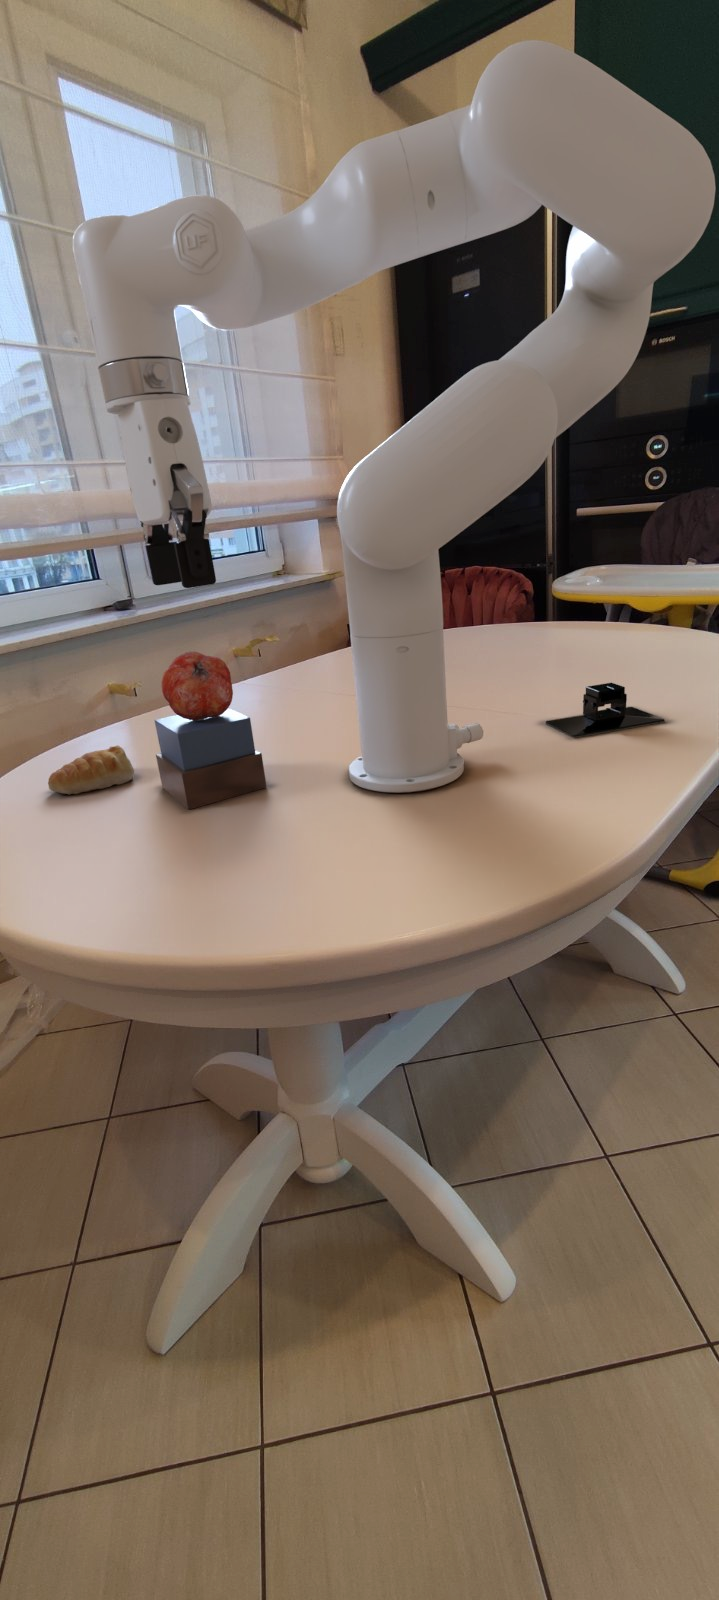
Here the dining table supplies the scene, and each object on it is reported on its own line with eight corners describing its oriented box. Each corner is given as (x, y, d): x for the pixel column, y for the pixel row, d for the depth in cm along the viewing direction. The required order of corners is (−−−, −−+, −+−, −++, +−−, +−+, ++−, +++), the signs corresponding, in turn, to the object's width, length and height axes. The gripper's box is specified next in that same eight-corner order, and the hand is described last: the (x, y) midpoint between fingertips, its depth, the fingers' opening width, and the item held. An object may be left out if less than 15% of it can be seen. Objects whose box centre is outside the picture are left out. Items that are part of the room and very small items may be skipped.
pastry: (61, 803, 81) (52, 770, 79) (43, 789, 86) (34, 759, 84) (140, 779, 86) (133, 748, 85) (119, 767, 91) (112, 739, 90)
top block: (227, 738, 85) (222, 704, 83) (255, 753, 78) (250, 717, 77) (161, 754, 81) (154, 719, 79) (184, 771, 75) (177, 734, 73)
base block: (235, 768, 87) (230, 736, 85) (266, 787, 80) (261, 753, 78) (162, 787, 83) (155, 754, 81) (188, 809, 75) (181, 773, 74)
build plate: (573, 739, 86) (574, 700, 84) (543, 724, 92) (543, 688, 91) (665, 721, 88) (667, 684, 86) (629, 708, 95) (631, 673, 93)
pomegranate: (167, 737, 81) (154, 699, 71) (168, 677, 83) (155, 633, 73) (235, 735, 82) (230, 699, 72) (234, 676, 84) (229, 633, 74)
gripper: (218, 368, 60) (252, 581, 67) (159, 405, 74) (191, 577, 81) (128, 370, 57) (173, 593, 63) (84, 408, 71) (124, 588, 78)
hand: (183, 584), depth 72 cm, fingers open, 9 cm apart
